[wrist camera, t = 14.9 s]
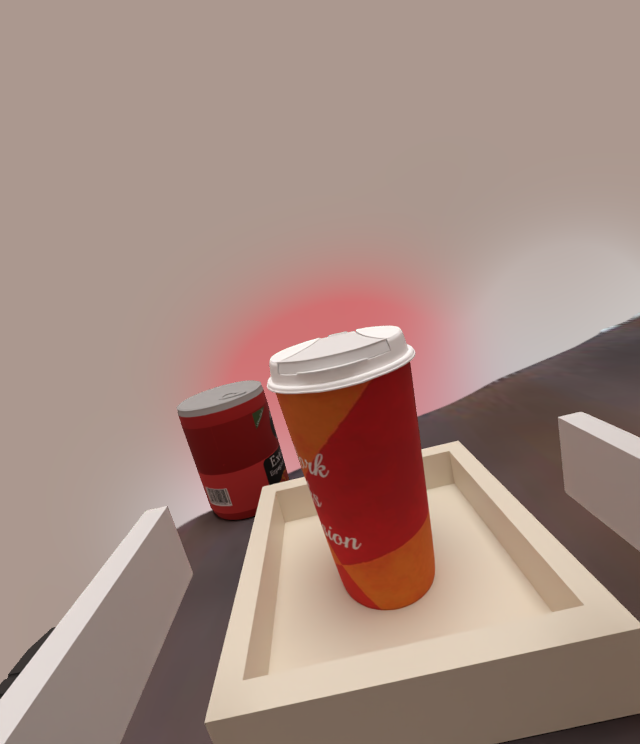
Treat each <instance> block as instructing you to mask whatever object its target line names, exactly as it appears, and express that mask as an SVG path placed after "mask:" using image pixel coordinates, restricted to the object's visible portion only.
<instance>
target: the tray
mask: <svg viewBox="0 0 640 744" xmlns="http://www.w3.org/2000/svg"><path fill="white" fill-rule="evenodd" d="M421 450H422V458H423V466H424V474H425V481H426V489H427V497H428V505H429V513H430V522H431V530H432V539H433V548H434V558H435V576H434V580H433V583H432V585H431V587H430V589H429V590H428V591H427V593H426V594H425V595H424V596H423V597H422V598H421V599H419V600H418V601H416V602H415V603H413V604H411V605H409V606H407V607H404V608H400V609H396V610H376V609H371V608H368V607H366V606H363V605H361V604H360V603H358V602H357V601H355V600H354V599H353V598H352V597H351V596H350V595H349V594H348V592H347V591H346V589H345V587H344V585H343V582H342V580H341V578H340V575H339V573H338V570H337V567H336V564H335V562H334V559H333V556H332V554H331V551H330V548H329V545H328V542H327V539H326V537H325V534H324V531H323V528H322V525H321V522H320V520H319V517H318V514H317V511H316V508H315V505H314V502H313V499H312V497H311V494H310V491H309V488H308V485H307V482H306V479H305V477H302V478H298V479H293V480H289V481H285V482H281V483H276V484H272V485H268V486H264V487H262V491H261V495H260V499H259V503H258V507H257V512H256V516H255V520H254V524H253V528H252V532H251V536H250V540H249V544H248V548H247V552H246V556H245V560H244V564H243V568H242V572H241V576H240V581H239V585H238V589H237V593H236V597H235V601H234V605H233V609H232V613H231V617H230V621H229V625H228V629H227V633H226V637H225V641H224V646H223V650H222V654H221V658H220V662H219V666H218V670H217V674H216V678H215V682H214V686H213V690H212V694H211V698H210V702H209V706H208V711H207V715H206V719H205V726H206V728H207V730H208V733H209V735H210V737H211V740H212V742H213V744H497V743H501V742H506V741H511V740H516V739H520V738H525V737H530V736H534V735H539V734H544V733H549V732H553V731H558V730H563V729H568V728H572V727H577V726H582V725H587V724H591V723H596V722H601V721H605V720H610V719H615V718H620V717H624V716H629V715H634V714H639V713H640V622H639V621H638V620H637V619H636V618H635V617H634V616H633V615H632V614H631V613H630V612H629V611H628V610H627V609H626V608H625V607H624V606H623V605H622V604H621V603H620V602H619V601H618V600H617V599H616V598H615V597H614V596H613V595H612V594H611V593H610V592H609V591H608V590H607V589H606V588H605V587H604V586H603V585H602V584H601V583H600V582H599V581H598V580H597V579H596V578H595V577H594V576H593V575H592V574H591V573H590V572H589V571H588V570H587V569H586V568H585V567H584V566H583V565H582V564H581V563H580V562H579V561H578V560H577V559H576V558H575V557H574V556H573V555H572V554H571V553H570V552H569V551H568V550H567V549H566V548H565V547H564V546H563V545H562V544H561V543H560V542H559V541H558V540H557V539H556V538H555V537H554V536H553V535H552V534H551V533H550V532H549V531H548V530H547V529H546V528H545V527H544V526H543V525H542V524H541V523H540V522H539V521H538V520H537V519H536V518H535V517H534V516H533V515H532V514H531V513H530V512H529V511H528V510H527V509H526V508H525V507H524V506H523V505H522V504H521V503H520V502H519V501H518V500H517V499H516V498H515V497H514V496H513V495H512V494H511V493H510V492H509V491H508V490H507V489H506V488H505V487H504V486H503V485H502V484H501V483H500V482H499V481H498V480H497V479H496V478H495V477H494V476H493V475H492V474H491V473H490V472H489V471H488V470H487V469H486V468H485V467H484V466H483V465H482V464H481V463H480V462H479V461H478V460H477V459H476V458H475V457H474V456H473V455H472V454H471V453H470V452H469V451H468V450H467V449H466V448H465V447H464V446H463V445H462V444H461V443H460V442H459V441H455V442H451V443H447V444H442V445H438V446H434V447H430V448H425V449H421Z"/></svg>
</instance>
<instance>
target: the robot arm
mask: <svg viewBox="0 0 640 744" xmlns="http://www.w3.org/2000/svg"><path fill="white" fill-rule="evenodd" d="M558 424H559V434H560V445H561V455H562V466H563V476H564V487H565V492H566V493H567V494H568V495H569V496H571V497H572V498H573V499H574V500H576V501H577V502H578V503H579V504H581V505H582V506H583V507H584V508H586V509H587V510H588V511H589V512H591V513H592V514H593V515H594V516H596V517H597V518H598V519H600V520H601V521H602V522H603V523H605V524H606V525H607V526H608V527H610V528H611V529H612V530H613V531H615V532H616V533H617V534H618V535H620V536H621V537H622V538H623V539H625V540H626V541H627V542H628V543H630V544H631V545H632V546H633V547H635V548H636V549H637V550H639V551H640V438H639V437H637V436H635V435H633V434H631V433H628V432H626V431H624V430H622V429H619V428H617V427H615V426H613V425H610V424H608V423H606V422H604V421H601V420H599V419H597V418H595V417H592V416H590V415H588V414H586V413H583V412H578V413H574V414H570V415H565V416H561V417H558ZM192 575H193V572H192V569H191V567H190V564H189V562H188V559H187V556H186V554H185V551H184V548H183V546H182V543H181V540H180V538H179V535H178V532H177V530H176V527H175V525H174V522H173V519H172V516H171V514H170V511H169V509H168V506H165V507H161V508H156V509H152V510H148V511H145V512H144V514H143V515H142V516H141V518H140V519H139V520H138V521H137V523H136V524H135V525H134V527H133V528H132V529H131V531H130V532H129V533H128V534H127V536H126V537H125V538H124V540H123V541H122V542H121V544H120V545H119V546H118V547H117V549H116V550H115V551H114V553H113V554H112V555H111V556H110V558H109V559H108V560H107V562H106V563H105V564H104V566H103V567H102V568H101V569H100V571H99V572H98V573H97V575H96V576H95V577H94V579H93V580H92V581H91V582H90V584H89V585H88V586H87V588H86V589H85V590H84V592H83V593H82V594H81V595H80V597H79V598H78V600H77V601H76V602H75V603H74V604H73V606H72V607H71V608H70V610H69V611H68V612H67V614H66V615H65V616H64V617H63V619H62V620H61V621H60V623H59V624H58V625H57V626H56V627H54V628H52V629H50V630H49V631H48V632H47V633H46V634H45V635H44V636H43V637H42V638H41V639H40V640H38V642H36V643H35V644H34V645H33V646H32V647H31V648H30V649H28V651H27V652H26V653H25V654H24V655H23V657H22V658H21V659H20V661H19V662H18V663H17V664H16V666H15V667H14V668H13V669H12V670H11V672H10V673H9V674H8V678H7V679H5V680H4V681H3V682H2V683H1V684H0V744H120V743H121V740H122V738H123V736H124V733H125V731H126V729H127V726H128V724H129V722H130V719H131V717H132V715H133V712H134V710H135V708H136V705H137V703H138V701H139V698H140V696H141V694H142V691H143V689H144V687H145V684H146V682H147V680H148V677H149V675H150V673H151V670H152V668H153V666H154V664H155V661H156V659H157V657H158V654H159V652H160V650H161V647H162V645H163V643H164V640H165V638H166V636H167V633H168V631H169V629H170V626H171V624H172V622H173V619H174V617H175V615H176V612H177V610H178V608H179V605H180V603H181V601H182V598H183V596H184V594H185V591H186V589H187V587H188V584H189V582H190V580H191V578H192Z"/></svg>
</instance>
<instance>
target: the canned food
mask: <svg viewBox="0 0 640 744" xmlns="http://www.w3.org/2000/svg"><path fill="white" fill-rule="evenodd" d="M177 410H178V415H179V418H180V421H181V425H182V428H183V431H184V433H185V436H186V439H187V442H188V445H189V447H190V450H191V453H192V456H193V459H194V461H195V464H196V467H197V470H198V473H199V475H200V478H201V481H202V484H203V486H204V489H205V492H206V495H207V498H208V501H209V503H210V506H211V508H212V509H213V511H214V512H215V513H216V514H217V515H218V516H219V517H221V518H223V519H228V520H239V519H245V518H249V517H253V516H256V512H257V507H258V503H259V499H260V495H261V491H262V487H264V486H268V485H272V484H276V483H281V482H285V481H289V477H288V473H287V470H286V466H285V463H284V459H283V456H282V452H281V449H280V445H279V442H278V438H277V435H276V431H275V428H274V424H273V420H272V417H271V414H270V410H269V406H268V403H267V399H266V397H265V393H264V390H263V387H262V385H261V382H259V381H242V382H236V383H231V384H227V385H223V386H219V387H216V388H213V389H210V390H207V391H204V392H201V393H199V394H197V395H194V396H192V397H190V398H188V399H186V400H185V401H183V402H182V403H181V404H179V405H178V407H177Z"/></svg>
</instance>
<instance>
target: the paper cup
mask: <svg viewBox="0 0 640 744" xmlns="http://www.w3.org/2000/svg"><path fill="white" fill-rule="evenodd" d="M414 356H415V350H414V349H413V348H412V347H411V346H410V345H408V344H406V341H405V338H404V335H403V332H402V330H401V329H400V328H399V327H396V326H377V327H368V328H362V329H356V332H355V331H353V332H349V333H347V332H342V333H337V334H333V335H329V336H328V337H326V338H322V339H320V338H317V339H314V340H310V341H307V342H304V343H300V344H297V345H295V346H292V347H290V348H287V349H285V350H282V351H280V352H278V353H276V354H275V355H273V356H272V357H271V359H270V372H271V377H270V378H269V380H268V383H267V388H268V389H269V390H270V391H272V392H275V393H276V395H277V398H278V401H279V404H280V407H281V409H282V413H283V415H284V418H285V421H286V424H287V427H288V430H289V433H290V436H291V438H292V441H293V444H294V447H295V450H296V453H297V456H298V459H299V462H300V465H301V468H302V470H303V473H304V476H305V479H306V482H307V485H308V488H309V491H310V494H311V497H312V499H313V502H314V505H315V508H316V511H317V514H318V517H319V520H320V522H321V525H322V528H323V531H324V534H325V537H326V539H327V542H328V545H329V548H330V551H331V554H332V556H333V559H334V562H335V564H336V567H337V570H338V573H339V575H340V578H341V580H342V582H343V585H344V587H345V589H346V591H347V592H348V594H349V595H350V596H351V597H352V598H353V599H354V600H355V601H357V602H358V603H360V604H361V605H363V606H366V607H368V608H371V609H376V610H396V609H400V608H404V607H407V606H409V605H411V604H413V603H415V602H416V601H418V600H419V599H421V598H422V597H423V596H424V595H425V594H426V593H427V591H428V590H429V589H430V587H431V585H432V583H433V580H434V576H435V558H434V548H433V539H432V530H431V522H430V513H429V505H428V497H427V489H426V481H425V474H424V466H423V458H422V450H421V443H420V435H419V427H418V419H417V412H416V405H415V397H414V389H413V381H412V373H411V366H410V361H411V360H412V359H413V358H414Z"/></svg>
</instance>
